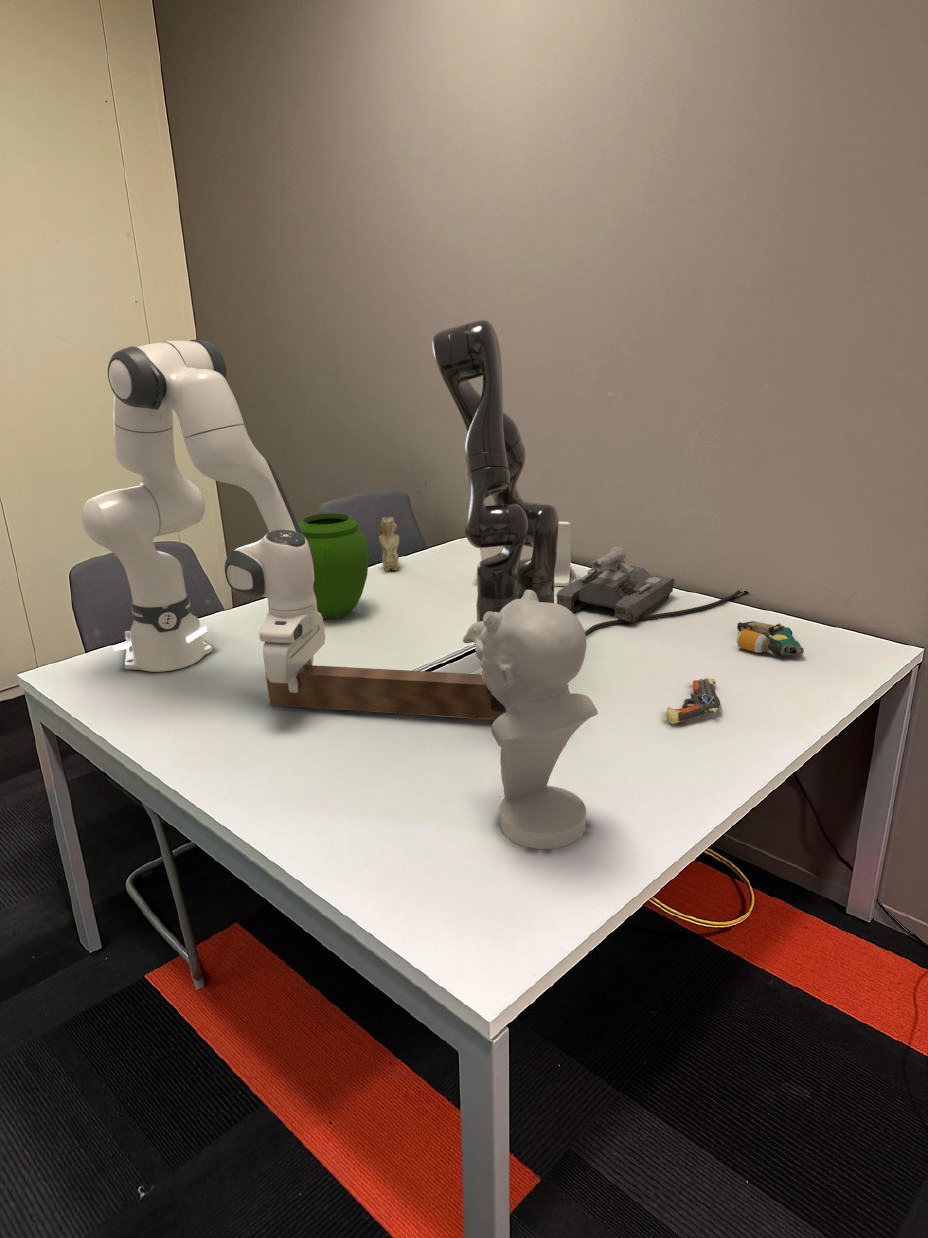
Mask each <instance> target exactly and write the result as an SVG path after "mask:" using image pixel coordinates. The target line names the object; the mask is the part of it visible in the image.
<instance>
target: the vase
mask: <svg viewBox="0 0 928 1238" xmlns="http://www.w3.org/2000/svg"><path fill="white" fill-rule="evenodd" d="M358 524H359V523H358V521H356V520H355V519H353V518H352V517H350V516H349V515H347V514H344V513H335V512H334V513H333V512H331V513H320V514H313V515H310V516H307V517H305V518H303V519H302V520H301V521H300V522H298V525H299V527H300V529H301V531H302V533H303V534H304V536H305V537H306V539H307V540H308V542H309V544H310V546H311V548H312V550H313V555H314V562H313V568H314V584H313V591H314V594H315V596H316V601H317V610H318V612H319V613H321V615H322V619H326V620H327V619H329V620H336V619H341V618H345V617H347V616H349V615H350V614H351V613H352V612H353V611H354V610H355V608H356V607H357V605H358V604H359V601H360V599H361V597H362V595H363V592H364V588H365V586H366V581H367V578H368V570H369V561H370V560H369V559H370V548H369V545H368V541H367V537H366V535H365V534H364V533H363V532H362V531H361V530H360V529H359V527H358Z"/></svg>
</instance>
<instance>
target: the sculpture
mask: <svg viewBox="0 0 928 1238" xmlns="http://www.w3.org/2000/svg"><path fill="white" fill-rule="evenodd" d="M378 526H379V527H378V528H379V529H380V530H381V531H382V532H383V534H380V535H379V536H378V541H379V544H380V548H381V549H382V554H381V563H382V566H383V568H384V571H385V572H386V571H387V572H388V571H390V570H391V569H392V571H397V570H398V566H399V560H400V559H399V558H400V557H399V554H398V551H397V550H398V547H399V544H400V535H398V534H397V533H395V531H396V530H397V528H398V525H397V523H396V522H395V518H394V516H389V517H385V516H383V517H381V523H380V524H379V525H378Z"/></svg>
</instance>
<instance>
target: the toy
mask: <svg viewBox="0 0 928 1238" xmlns="http://www.w3.org/2000/svg"><path fill="white" fill-rule="evenodd" d="M626 557H627V556H626V551H625V549H624V548H622V547H621V546H614V547H612V548H611V549H610V550H609V552H608V553H607V554H605V555H604V556H601V557H599V558H598V559H597V557H596V558H594V559H593V560H592V561H590V562H589V563H590V564H591V565H592V567H591V568H590V569H589V570H587V573H586V575H584V576H582V577H580V578H578V579H577V580H575V581H573V582H570V583H569V585H567V586H563V587H562V588H560V589H559V590H558V591H557V592H556V604H559V605H562V606H564V607H566V608H567V609H569V610H570V611H571V612H572V613H575V612H577V611H579V610H581V609H582V608H585V607H586V606H588V605H592V606H598V607H602V608H603V607H604V608H609V609H613V610H614V618H615V619H616V620H619V619H621V620H623V621H625V623H631V624H634V623H635V622H637V621H639V620H638V618H639V616H646V615H648V613H650V612H651V611H652V610H654V609H655V608H657V607H659V606H660V605H661V604H663V603H664V602H666V601H667V600H669V598H670V596H671V594H672V593H673V591H674V585H675V580H676V579H675V578H673V577H668V576H663V575H656V576H655V577H654V576H651V574H650V573H649V572H648V571H647V570H646V568H644V567H641V566H635V565H629V564H628V563H627V562H626V561H625V559H626ZM636 620H637V621H636Z"/></svg>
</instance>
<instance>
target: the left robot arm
mask: <svg viewBox="0 0 928 1238" xmlns="http://www.w3.org/2000/svg"><path fill="white" fill-rule="evenodd" d="M227 374H228V372H227V364H226V360H225V358H224V356H223V353H222V352H221V350H220V349H219V347H218V346H217V345H215V344H214V343H212V342H210V341H205V340H200V339H190V340H164V341H160V342H155V343H150V344H149V343H148V344H144V345H139V346H135V345H134V346H127V347H124V348H122V349H120V350H117V351H116V352H114V353H113V354H112V355H111V357H110V358H109V362H108V366H107V379H108V382H109V387H110V390H111V391H112V393H113V395H114V397H113V411H112V413H113V435H114V436H113V439H114V440H113V443H114V456H115V458H116V460H117V462H118V463H119V464H120V465H121V467H123V468H124V469H126V470H127V471H129V472H131V473H134V474H137V475H139V476H140V478H141V479H140V484H139V485H138V484H137V485H135V486H129V487H125V488H120V489H114V490H109V491H106V492H104V493H101V494H98V495H96V496H94V497H91V498H89V499H88V500H87V501H86V502H85V503H84V505H83V508H82V511H81V523H82V526H83V529H84V531H85V533H86V534H87V536H88V537H89V538H90V539H91V540H92V541H93V542H94V543H95V544H98V545H100V546H102V547H104V548H106V549H107V550H109V551H110V552H111V553H112V554H114V555H115V556H116V558H117V559H118V560H119V561H120V563H121V564H122V566H123V568H124V571H125V573H126V578H127V580H128V584H129V589H130V594H131V599H132V601H131V603H130V605H131V608H130V610H131V615H132V619H133V621H132V624H131V626H130V630H125V631H124V638H125V642H127V643H125V644H118V645H114V646H112V648H113V651H119V650H125V658H124V670H130V671H131V670H139V671H144V672H153V673H159V672H169V671H175V670H176V671H177V670H179V669H184V668H187V667H190V666H192V665H194V664H196V663H197V662H199V661H200V660H201V659H203V657H205V656H206V655H209V654H210V653H212V652H213V650H214V649H213V646H212V645H211V644H209V643H207V642H205V641H204V637H203V634H204V633H207V632H208V629H207V626H203V627H201V622H200V621H201V620H200V619H199V617H197V616H196V615H195V614H193V613H191V612H192V610H191V609H192V608H191V601H190V598H189V594H187V591H186V583H185V578H184V572H183V565H182V563H181V562H180V560H179V559H178V558H177V557H175V556H174V555H172V554H170V553H167V552H164V551H160V550H157V549H156V547H155V543H154V538H156V537H160V536H164V535H169V534H173V533H178V532H182V531H184V530H186V529H188V528H191V527H193V526H194V525H196V524H198V523H200V522H201V521H202V520H203V517H204V514H205V511H206V503H205V497H204V495H203V493H202V491H201V490H200V488H199V487H198V486H197V485H196V484H195V483H194V482H192V481H191V480H189V479H187V478H186V477H185V476H184V475H183V474H182V473H181V471H180V469H179V467H178V465H177V462H176V457H175V456H176V455H175V443H174V442H175V441H174V439H175V438H174V412H175V413H176V416H177V418H178V420H179V426H180V429H181V434H182V436H183V440H184V443H185V446H186V450H187V453H188V456H189V458H190V461H191V463H192V464H193V466H194V467H195V469H196V470H197V471H199V472H200V473H201V474H202V475H203V476H205V477H207V478H209V479H211V480H213V481H216V482H219V483H225V484H229V485H234V486H237V487H239V488H241V489H243V490H245V491H247V493H249V494H250V495H251V496H252V498H253V499H254V501H255V503H256V506H257V508H258V511H259V512H260V514H261V517H262V519H263V521H264V524H265V526H266V529H267V531H268V532H267V533H266V534H265V535H264V536H263V537H262V538H261V539H259V540H258V541H255V542H252V543H249V544H246V545H242V546H240V547H237V548H235V549H234V550H231V551H230V552H229V553H228V555H226V559H225V562H224V574H225V575H224V576H225V579H226V581H227V585H229V587H230V589H231V590H232V591H234V593H236V594H237V595H239V596H242V597H244V598H260V597H263V598H264V597H265V598H266V599H267V605H268V606H267V608H268V612H267V614H266V617H265V620H264V622H263V624H262V626H261V628H260V630H259V632H258V635H259V641H260V642H263V647H262V656H263V664H264V669H265V670H264V671H265V672H266V673H265V677H266V676H267V678H268V680H269V681H270V682H272V683H288V687H289V692H291V693H297V692H298V691H299V690H300V688H301V687H300V681H297V678H296V677H297V672H298V671H299V670H300V669H301V668H302V667H303V666H304V665H313V664H314V656H315V655H316V654H317V652H319V650H321V648H322V647H324V646H325V642H326V631H325V625H324V620H323V619H324V618H323V617H322V615H321V613H319V612H318V610H317V601H316V596H315V594H314V591H313V584H314V568H313V562H314V555H313V550H312V548H311V546H310V544H309V542H308V540H307V539H306V537H305V536H304V534H303V533H302V531H301V529H300V527H299V525H298V524H299V522H297V519H296V517H295V514H294V512H293V510H292V508H291V505H290V503H289V501H288V498H287V496H286V493H285V491H284V489H283V486H282V485H281V482H280V479H279V478H278V475H277V473H276V471H275V469H274V467H273V466H272V464H271V462H270V461H269V459H268V458H267V457H266V456H265V455H264V454H261V452H259V450H258V449H257V448H256V446H255V445H254V443H253V442H252V440H251V438H250V436H249V433H248V431H247V428H246V425H245V422H244V418H243V416H242V412H241V410H240V408H239V405H238V402H237V400H236V397H235V396H234V393H233V390H232V389H231V386H230V385H229V383H228V381H227Z"/></svg>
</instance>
